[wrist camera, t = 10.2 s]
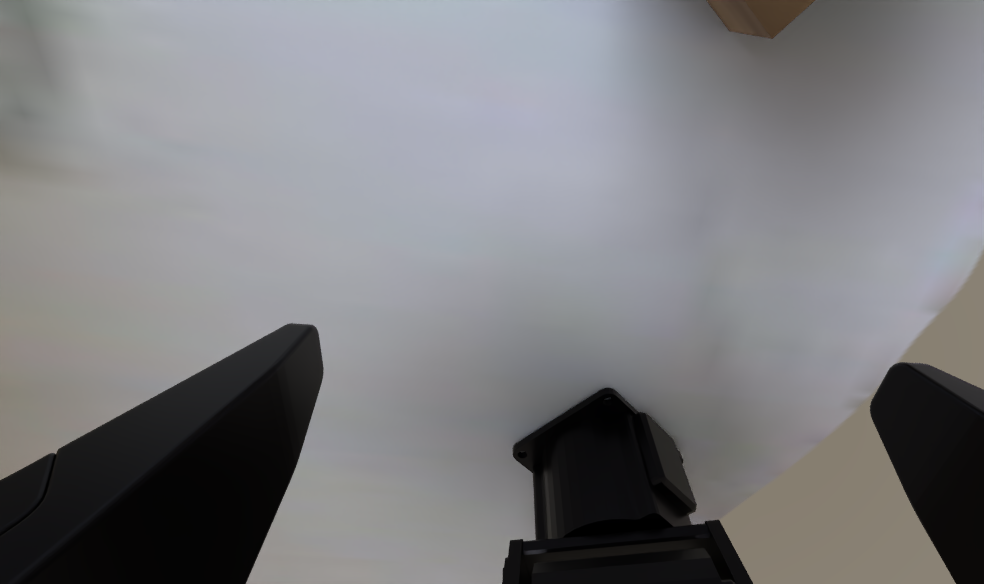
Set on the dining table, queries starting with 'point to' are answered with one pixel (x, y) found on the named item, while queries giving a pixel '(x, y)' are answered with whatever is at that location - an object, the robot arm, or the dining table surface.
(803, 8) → the walnut block
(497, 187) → the dining table surface
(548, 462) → the robot arm
